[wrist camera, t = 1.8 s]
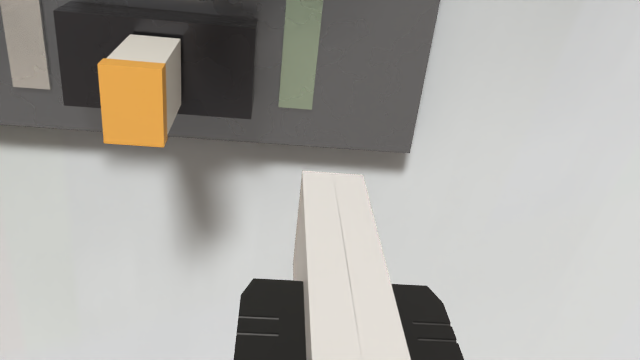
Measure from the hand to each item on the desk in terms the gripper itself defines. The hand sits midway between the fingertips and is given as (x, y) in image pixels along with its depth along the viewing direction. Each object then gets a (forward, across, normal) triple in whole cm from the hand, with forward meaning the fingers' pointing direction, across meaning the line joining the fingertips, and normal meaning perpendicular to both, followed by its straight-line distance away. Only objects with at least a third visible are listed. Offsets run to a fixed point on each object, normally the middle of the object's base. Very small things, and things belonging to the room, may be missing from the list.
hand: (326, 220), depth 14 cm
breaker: (+11, -6, 0) cm, 13 cm away
